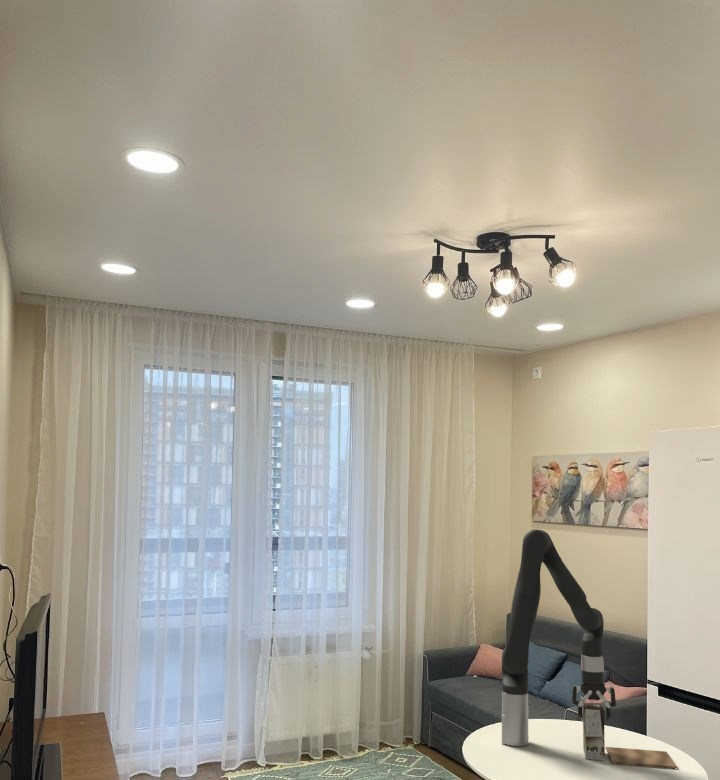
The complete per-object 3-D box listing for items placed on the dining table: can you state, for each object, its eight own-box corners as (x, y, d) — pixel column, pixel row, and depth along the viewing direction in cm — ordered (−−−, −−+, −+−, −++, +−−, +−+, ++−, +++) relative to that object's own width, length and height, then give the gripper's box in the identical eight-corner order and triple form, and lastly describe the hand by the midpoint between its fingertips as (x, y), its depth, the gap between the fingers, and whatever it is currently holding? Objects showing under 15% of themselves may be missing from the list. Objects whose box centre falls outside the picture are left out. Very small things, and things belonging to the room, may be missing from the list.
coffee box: (605, 761, 250) (604, 710, 252) (585, 759, 251) (584, 708, 253) (602, 752, 258) (601, 703, 261) (582, 750, 260) (582, 701, 262)
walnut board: (612, 763, 247) (612, 761, 247) (605, 749, 262) (605, 746, 262) (677, 769, 244) (676, 766, 244) (666, 754, 258) (666, 751, 258)
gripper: (572, 670, 256) (574, 720, 254) (615, 672, 254) (617, 722, 252) (570, 665, 264) (571, 714, 261) (612, 667, 261) (614, 716, 259)
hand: (594, 718), depth 257 cm, fingers open, 8 cm apart
